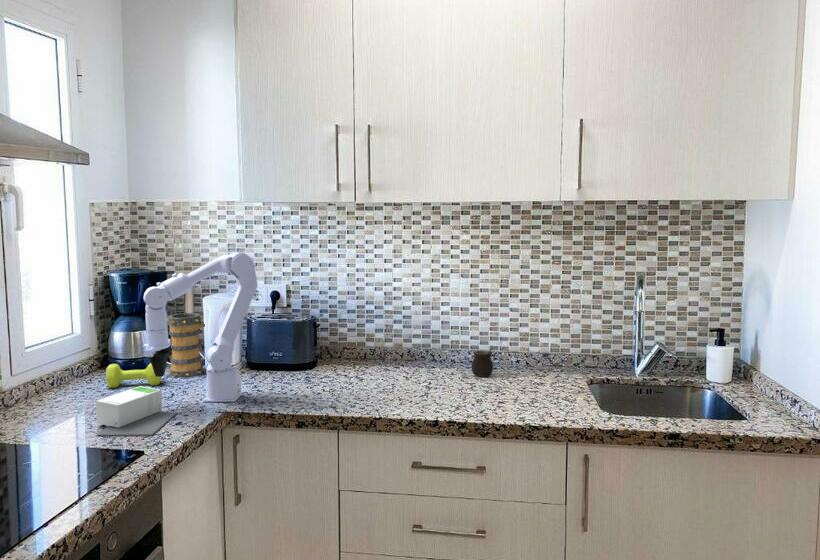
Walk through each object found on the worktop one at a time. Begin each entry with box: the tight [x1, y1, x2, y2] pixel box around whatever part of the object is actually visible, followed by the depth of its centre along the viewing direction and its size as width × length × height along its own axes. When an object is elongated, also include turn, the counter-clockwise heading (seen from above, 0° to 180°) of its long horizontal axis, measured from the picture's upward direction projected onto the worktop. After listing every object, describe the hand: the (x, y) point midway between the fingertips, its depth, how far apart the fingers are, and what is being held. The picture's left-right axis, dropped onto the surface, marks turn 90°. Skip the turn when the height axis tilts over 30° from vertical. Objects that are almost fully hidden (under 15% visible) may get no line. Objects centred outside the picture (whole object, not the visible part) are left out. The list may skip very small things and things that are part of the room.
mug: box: [167, 312, 206, 379], centre depth 234 cm, size 13×17×20 cm
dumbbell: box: [105, 362, 162, 389], centre depth 221 cm, size 16×8×7 cm, turn 101°
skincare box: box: [95, 385, 163, 428], centre depth 186 cm, size 8×7×16 cm
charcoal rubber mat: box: [96, 411, 178, 437], centre depth 183 cm, size 14×18×1 cm
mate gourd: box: [471, 347, 494, 378], centre depth 227 cm, size 7×8×10 cm
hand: (159, 375), depth 197 cm, fingers closed
